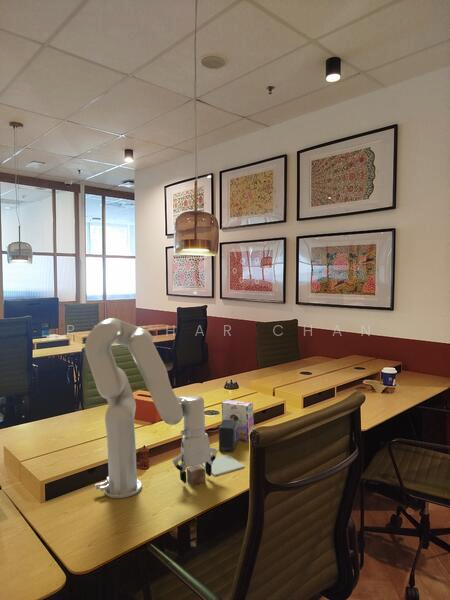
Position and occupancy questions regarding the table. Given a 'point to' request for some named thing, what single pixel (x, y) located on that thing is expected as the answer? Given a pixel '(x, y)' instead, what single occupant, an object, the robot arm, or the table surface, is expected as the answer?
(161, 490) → the table surface
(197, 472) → the cube
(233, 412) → the candy box
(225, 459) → the mat
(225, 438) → the small box
